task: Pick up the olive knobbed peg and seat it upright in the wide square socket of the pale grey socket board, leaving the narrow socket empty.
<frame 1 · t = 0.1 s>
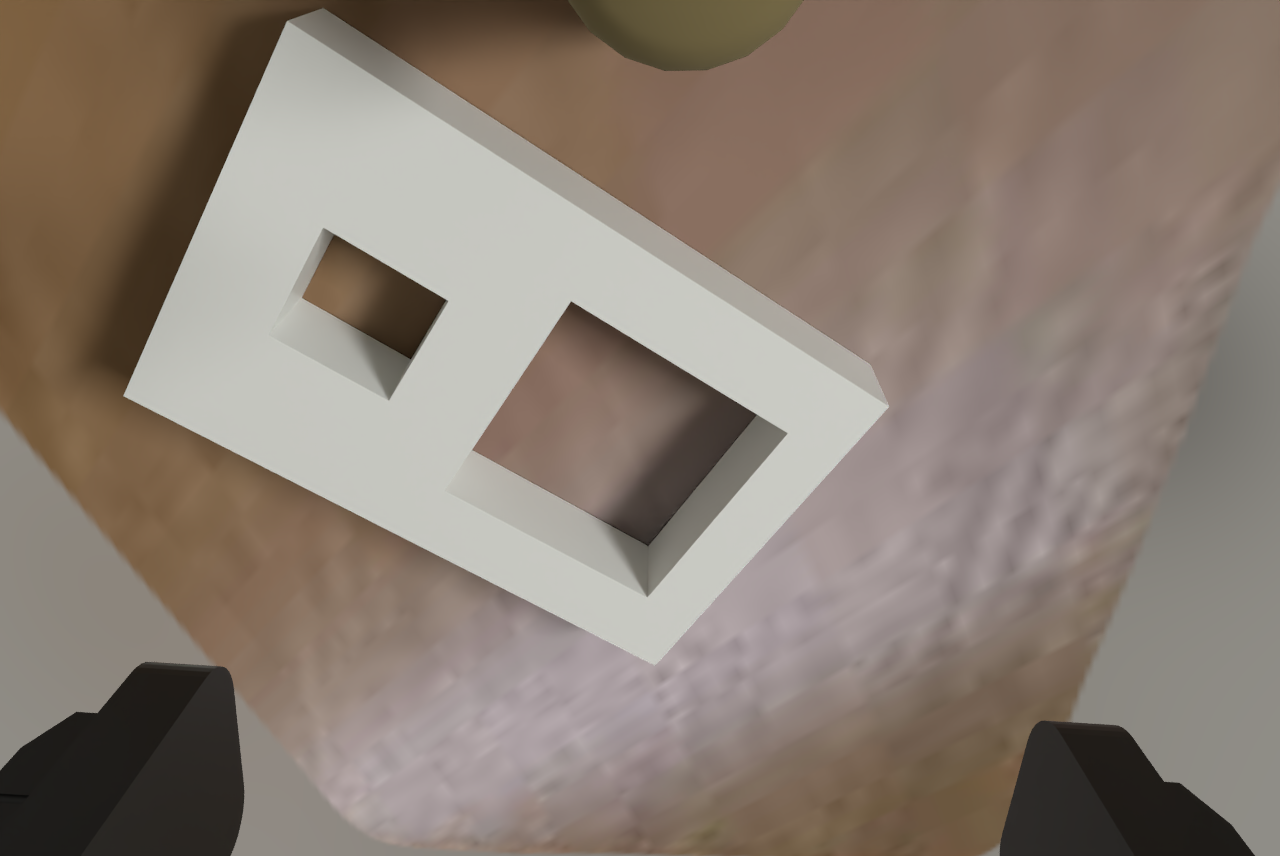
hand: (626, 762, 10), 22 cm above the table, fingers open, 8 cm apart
socket board: (516, 359, 32), on the table
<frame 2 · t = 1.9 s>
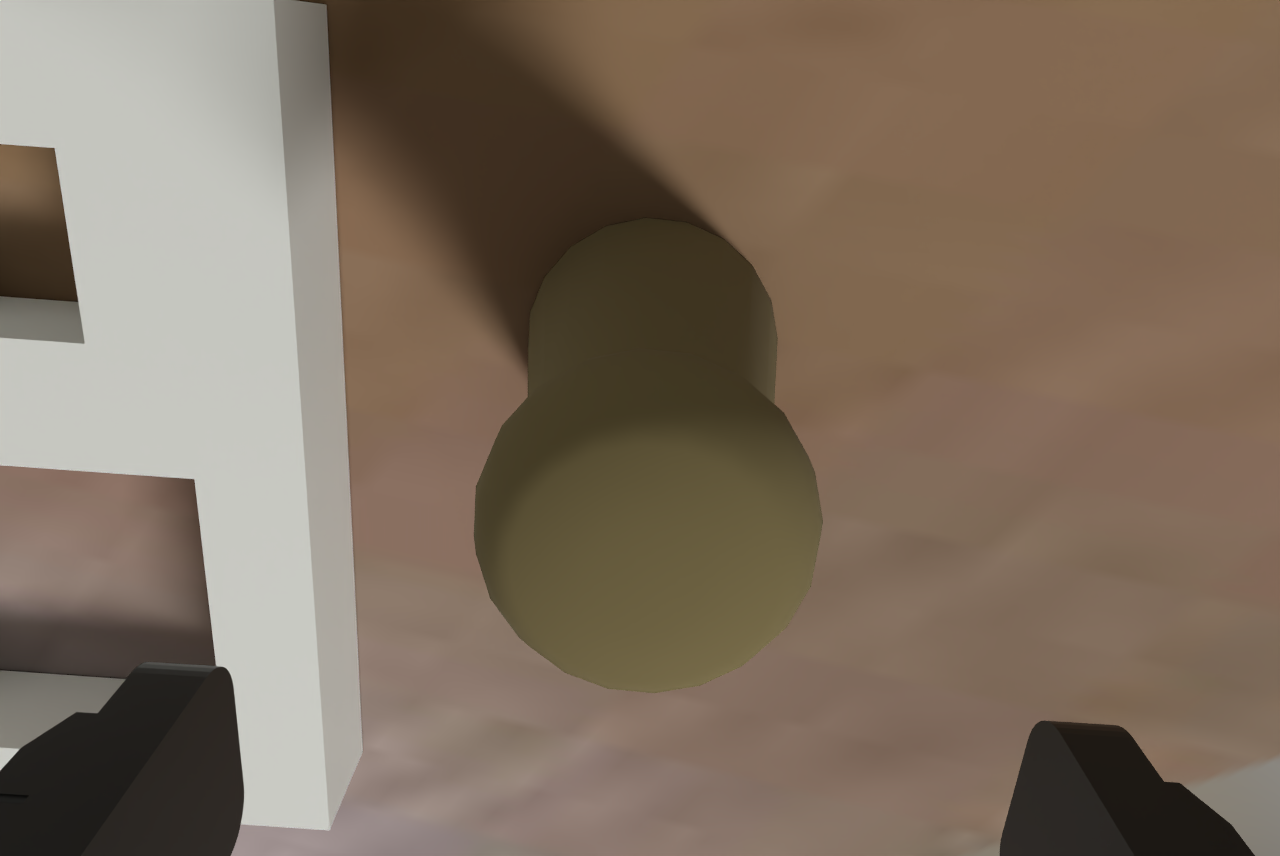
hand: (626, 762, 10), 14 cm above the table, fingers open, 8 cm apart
olive knobbed peg: (652, 341, 23), on the table
socket board: (89, 417, 24), on the table
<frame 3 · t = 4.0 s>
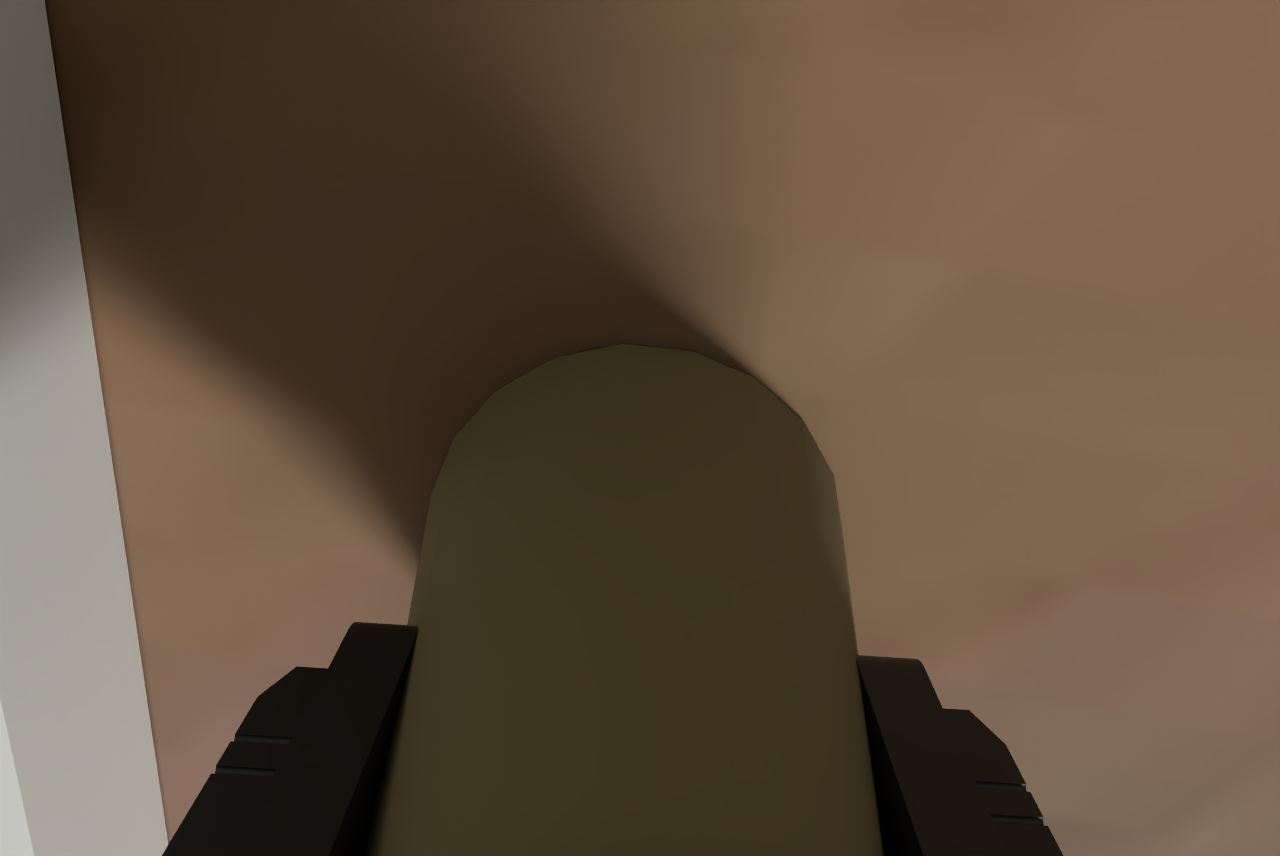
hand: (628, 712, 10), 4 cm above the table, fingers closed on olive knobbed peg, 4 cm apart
olive knobbed peg: (635, 535, 14), on the table, touching gripper
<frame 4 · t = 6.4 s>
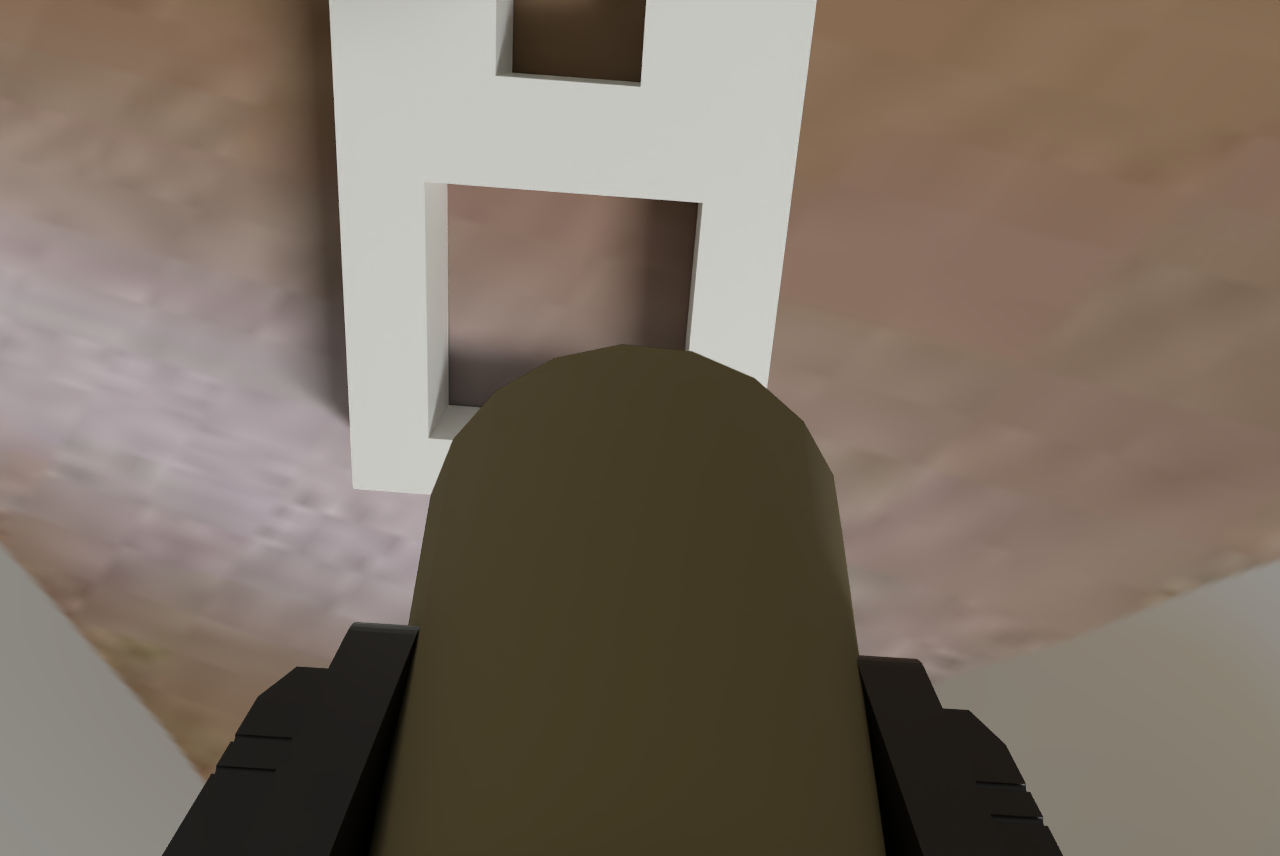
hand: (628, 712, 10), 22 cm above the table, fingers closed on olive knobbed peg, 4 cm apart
olive knobbed peg: (634, 536, 14), point 18 cm above the table, touching gripper
socket board: (573, 178, 30), on the table
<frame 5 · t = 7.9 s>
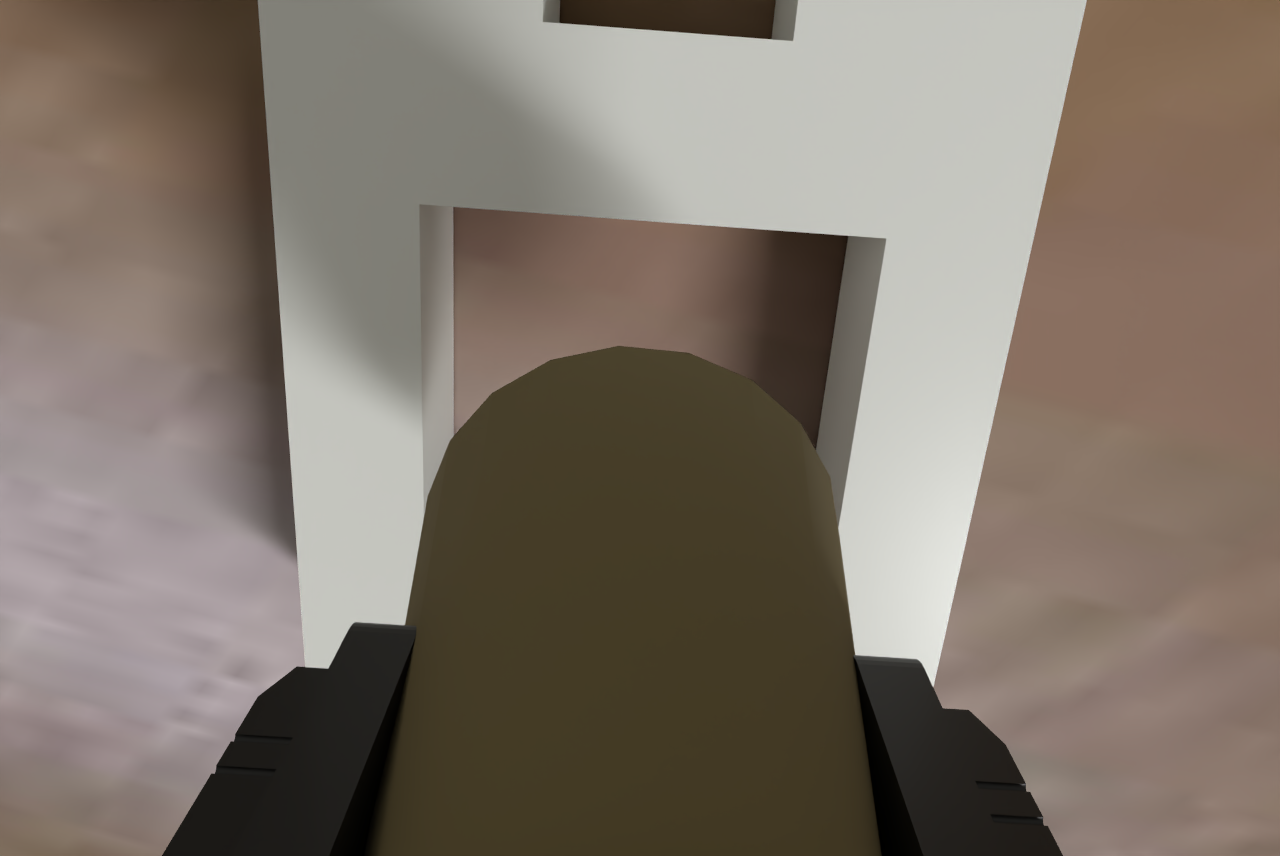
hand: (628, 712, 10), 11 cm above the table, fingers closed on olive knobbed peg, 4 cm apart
olive knobbed peg: (631, 538, 14), point 7 cm above the table, touching gripper
socket board: (653, 196, 19), on the table
when the fingers open (5 cm above the table, at t = 9.3 s): olive knobbed peg drops 1 cm, resting in socket board.
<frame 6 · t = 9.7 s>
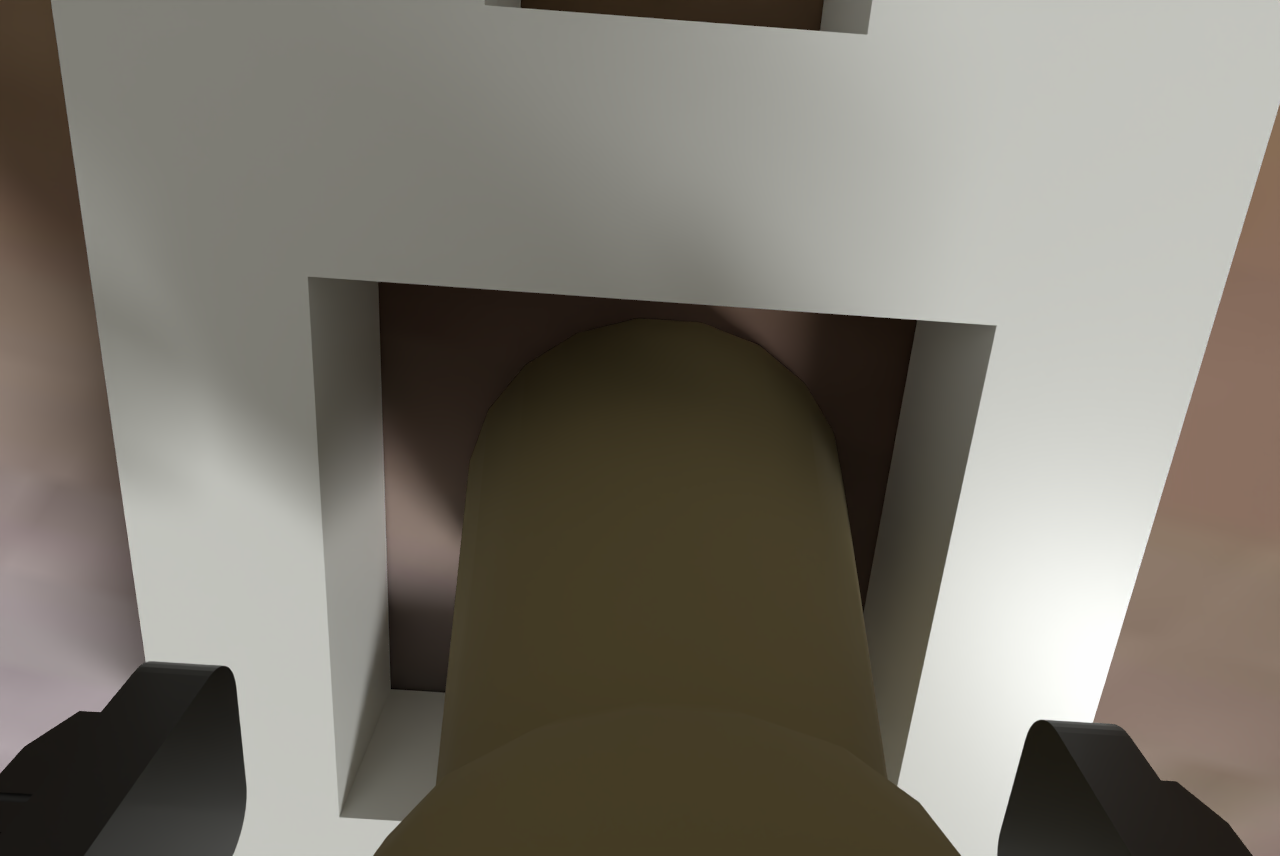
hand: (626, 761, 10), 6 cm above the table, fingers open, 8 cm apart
olive knobbed peg: (655, 494, 15), resting in socket board
socket board: (653, 250, 14), on the table
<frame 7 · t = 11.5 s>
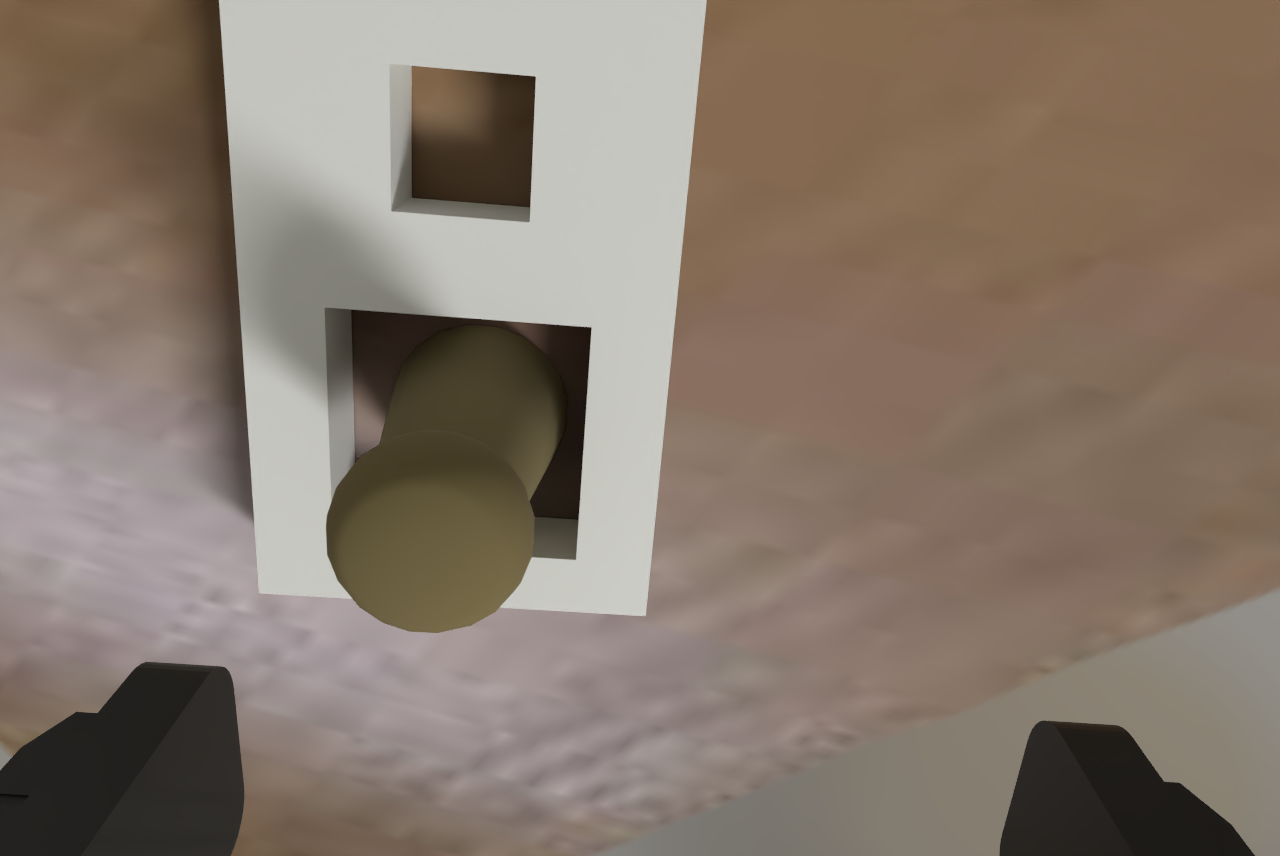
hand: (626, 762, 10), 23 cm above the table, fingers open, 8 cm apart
olive knobbed peg: (481, 407, 33), resting in socket board
socket board: (472, 294, 31), on the table
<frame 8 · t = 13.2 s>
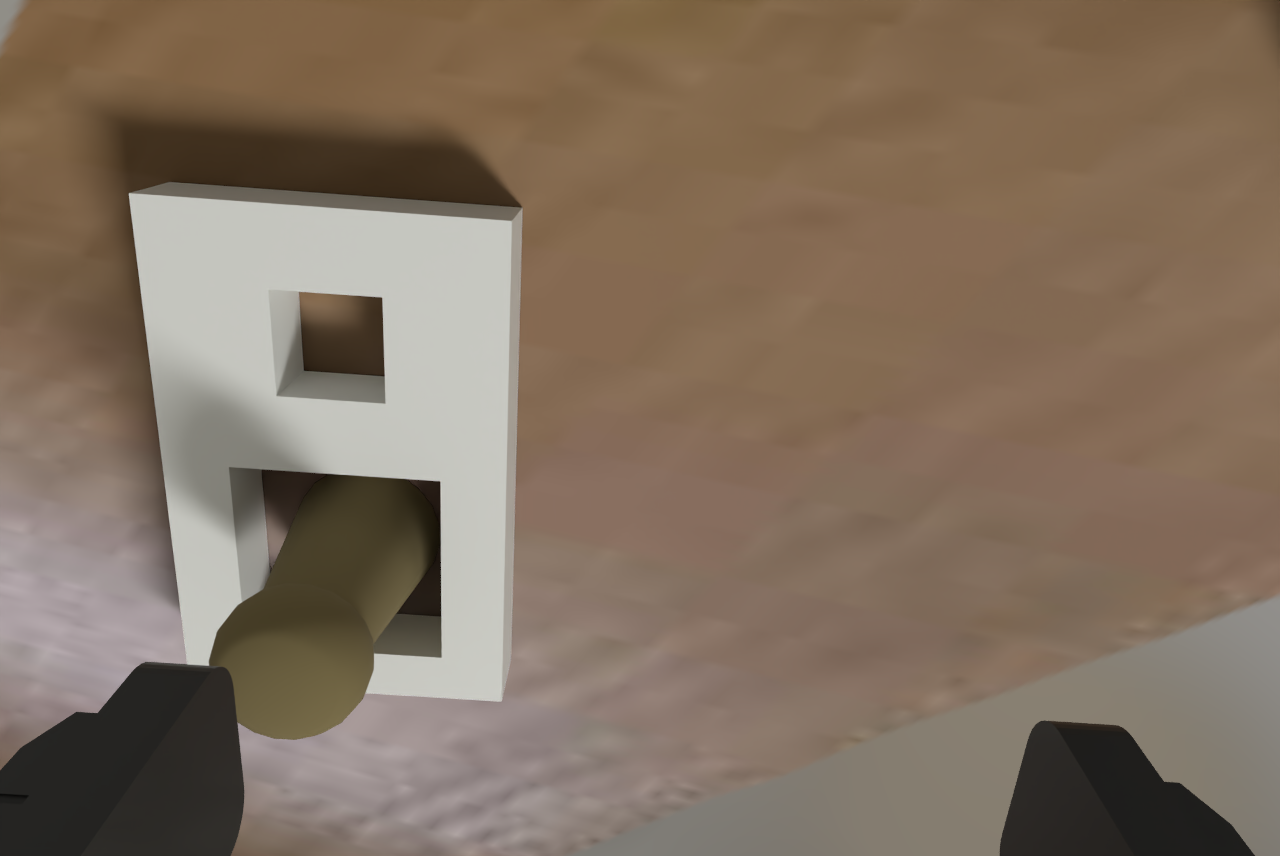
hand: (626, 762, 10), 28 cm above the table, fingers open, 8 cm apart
olive knobbed peg: (370, 529, 40), resting in socket board
socket board: (357, 443, 39), on the table
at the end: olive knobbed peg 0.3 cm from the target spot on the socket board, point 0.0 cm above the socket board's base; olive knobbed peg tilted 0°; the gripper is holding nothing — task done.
